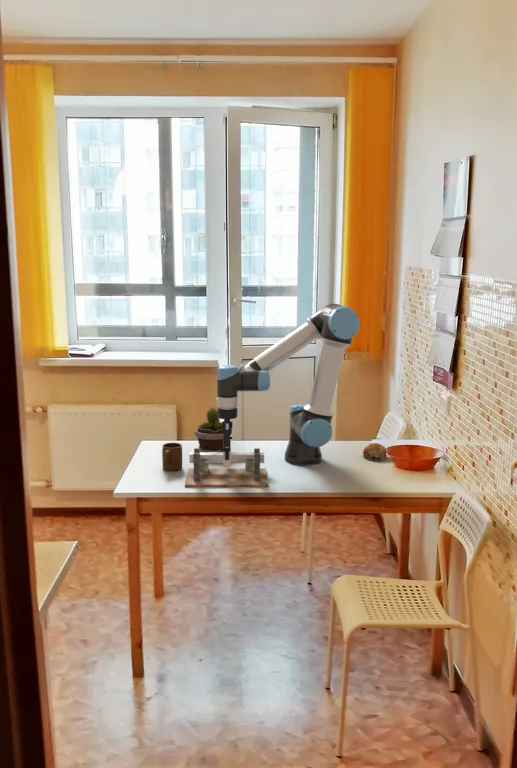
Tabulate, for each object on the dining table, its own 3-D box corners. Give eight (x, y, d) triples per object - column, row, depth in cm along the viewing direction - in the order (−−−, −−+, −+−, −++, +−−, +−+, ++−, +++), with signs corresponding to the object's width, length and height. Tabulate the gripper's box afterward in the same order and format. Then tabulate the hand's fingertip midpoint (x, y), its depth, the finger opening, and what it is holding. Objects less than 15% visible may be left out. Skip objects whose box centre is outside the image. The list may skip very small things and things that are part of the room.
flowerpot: (230, 459, 269) (230, 411, 265) (192, 458, 269) (192, 411, 265) (232, 449, 283) (232, 403, 279) (196, 448, 283) (196, 402, 279)
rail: (263, 460, 252) (263, 452, 251) (264, 463, 249) (264, 454, 248) (190, 460, 251) (189, 452, 250) (189, 463, 248) (189, 454, 247)
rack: (265, 470, 255) (266, 440, 253) (268, 487, 238) (269, 455, 235) (187, 470, 254) (187, 440, 252) (184, 487, 236) (184, 455, 234)
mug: (175, 476, 248) (175, 452, 246) (156, 474, 249) (155, 450, 247) (184, 466, 260) (184, 443, 258) (166, 464, 261) (165, 441, 259)
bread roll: (388, 466, 275) (392, 447, 276) (380, 461, 266) (384, 442, 268) (366, 461, 280) (370, 443, 282) (357, 457, 272) (361, 438, 273)
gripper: (217, 399, 258) (217, 451, 262) (216, 415, 233) (216, 472, 237) (237, 399, 258) (236, 451, 262) (237, 415, 234) (237, 472, 238)
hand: (226, 461), depth 250 cm, fingers open, 13 cm apart
